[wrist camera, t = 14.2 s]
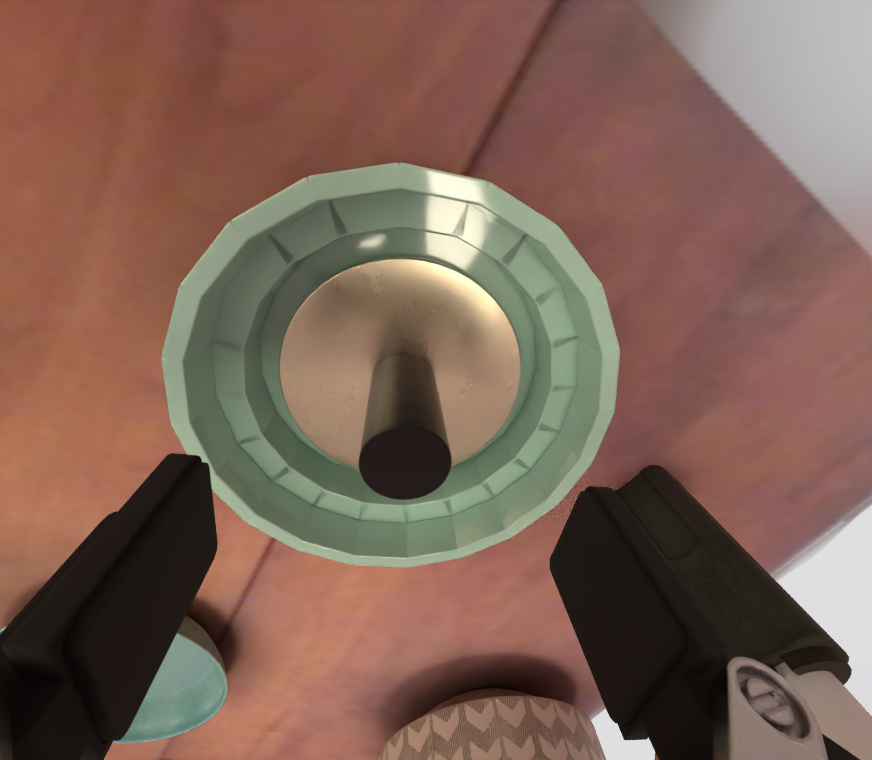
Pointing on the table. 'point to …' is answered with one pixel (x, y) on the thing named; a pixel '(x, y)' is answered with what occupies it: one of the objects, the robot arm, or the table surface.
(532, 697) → the planter
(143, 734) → the saucer
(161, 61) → the table surface
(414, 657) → the table surface
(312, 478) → the bowl
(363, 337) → the lid
